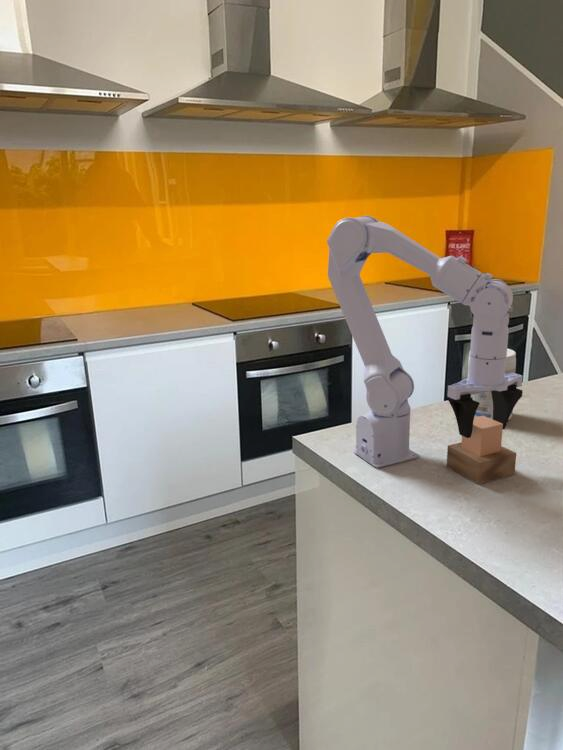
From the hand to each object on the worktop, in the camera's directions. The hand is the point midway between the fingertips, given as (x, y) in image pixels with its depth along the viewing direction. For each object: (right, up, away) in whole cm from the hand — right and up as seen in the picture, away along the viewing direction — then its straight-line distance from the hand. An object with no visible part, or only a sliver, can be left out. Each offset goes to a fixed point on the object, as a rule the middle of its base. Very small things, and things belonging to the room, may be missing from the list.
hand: (482, 431), depth 100 cm
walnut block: (0, -7, +2) cm, 7 cm away
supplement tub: (+10, 0, +27) cm, 29 cm away
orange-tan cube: (0, -3, +1) cm, 3 cm away
